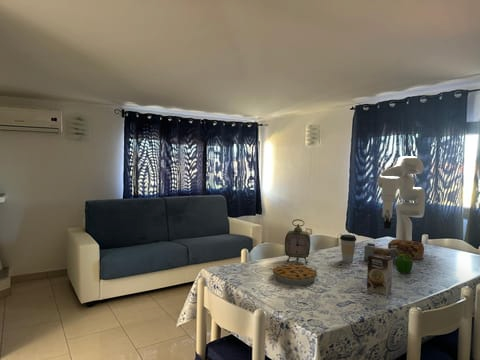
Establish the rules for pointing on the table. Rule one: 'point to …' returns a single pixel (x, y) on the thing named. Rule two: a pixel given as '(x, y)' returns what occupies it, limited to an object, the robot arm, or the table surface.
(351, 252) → the coffee cup
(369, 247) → the box
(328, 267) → the table surface
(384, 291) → the coffee box
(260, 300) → the table surface
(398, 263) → the bell pepper
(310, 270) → the pie
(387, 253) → the brown cylinder
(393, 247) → the saddle bracket
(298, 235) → the tabletop clock
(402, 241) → the bread
